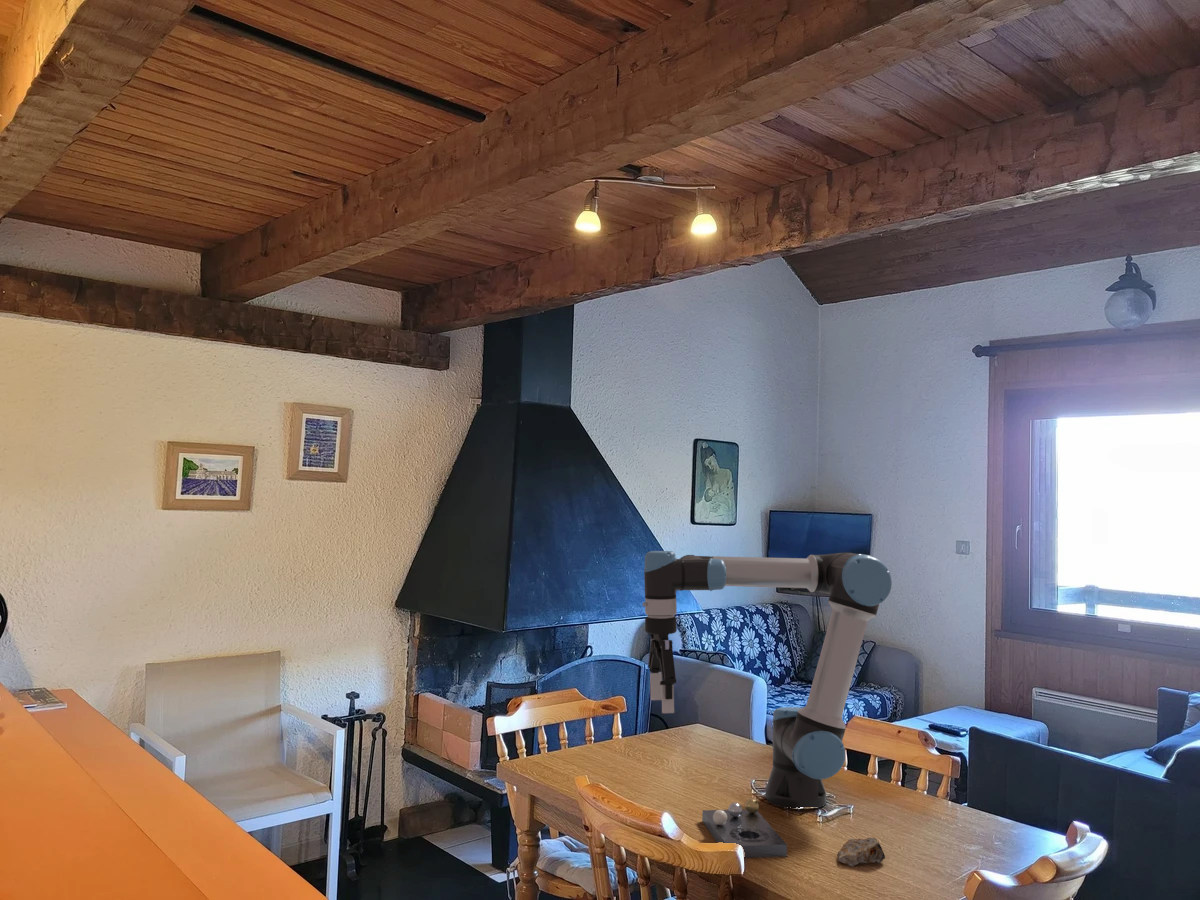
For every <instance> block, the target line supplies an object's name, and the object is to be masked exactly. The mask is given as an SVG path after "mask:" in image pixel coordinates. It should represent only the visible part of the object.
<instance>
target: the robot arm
mask: <svg viewBox="0 0 1200 900" xmlns="http://www.w3.org/2000/svg"><path fill="white" fill-rule="evenodd" d="M643 572H644V575H643V576H644V577H643V578H644V579H643V580H644V600H645V601H644V602H642V607H644V612H645V615H647V616H646V617H645V618H644V632H646V633H647V634H649V636H650V637H649V638H650V641H649V642H650V644H649V652H648V663H647V667H648V669H649V677H650V678H649V679H650V681H649V683H650V684H649V685H650V686H649V687H650V688H649V689H650V700H651V701H661V714H675V684H676V683H677V678H676V669H675V661H674V651H673V640H672V639H669V636H670V635H673V634H676V633H677V629H678V627H677V626H678V625H677V624H678V622H677V617H676V616H675V615H677V613H678V612H677V607H678V606H677V591H710V592H712V591H718V590H719V591H720V590H724V588H725V587H750V588H755V587H756V588H785V589H786V588H787V589H788V588H789V589H790V588H792V589H807V590H808V591H809V593H822V594H827V595H829V596H828V604H829V606H830V608H831V614H830V618H829V621H828V622H829V623H828V625H827V628H826V633H825V635H824V640H823V644H822V648H821V651H820V655H819V658H818V661H817V664H816V670H815V673H814V677H813V679H812V683H811V688H810V689H809V690H810V691H809V695H808V699H807V701H806V704H805V706H804V707H803V706H802V707H798V706H797V707H796V706H795V707H793V706H792V707H791V706H790V707H789V706H788V707H787V706H786V707H784V706H783V707H778V708H776V709H774V711H773V714H772V715H773V717H772V722H771V723H772V768H771V770H770V774H769V776H768V780H767V784H766V786H765V790H764V791H765V795H766V798H765V800H766V799H767V800H766V801H767V802H769V803H770V804H772V805H774V806H777V807H780V808H784V807H788V808H787V809H789V808H790V807H791V808H796V807H798V808H800V807H820V806H823V805H825V804H827V792H826V789H825V785H824V782H823V780H826V779H829V778H831V777H833V776H835V775H836V774H838V773H839V772H840V770H842V767H843V766H844V765H845V761H846V748H845V745H844V743H843V740H844V736H845V733H846V728H847V725H846V724H845V722H844V721H843V714H844V710H845V706H846V703H847V699H848V695H849V693H850V692H849V691H850V687H851V684H852V681H853V676H854V673H855V669H856V666H857V661H858V658H859V654H860V651H861V647H862V644H863V639H864V637H865V636H864V635H865V633H866V629H867V625H868V622H869V620H872V619H874V618H875V617H877V613H878V610H879V606H880V604H881V603H883V602H884V601H885V600H886V599H887V598H888V596H889V595H890V592H891V590H892V584H893V583H892V576H891V573H890V571H889V569H888V567H887V566H886V564H884V563H883V561H881V560H880V559H878V558H877V557H874V556H871V555H870V554H864V553H853V552H838V553H836V552H835V553H827V554H809V555H808V556H807V557H806V558H802V557H800V558H798V557H793V558H792V557H763V556H762V557H758V556H756V557H755V556H753V557H752V556H718V555H717V556H714V555H713V556H712V555H711V556H709V555H694V554H686V555H683V556H681V557H680V558H677V556H676V552H675V551H672V550H651V551H648V552H647V553H645V556H644V570H643ZM825 806H826V805H825ZM823 807H824V806H823Z"/></svg>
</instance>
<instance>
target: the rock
mask: <svg viewBox="0 0 1200 900" xmlns="http://www.w3.org/2000/svg"><path fill="white" fill-rule="evenodd" d="M836 858H838V859H837V861H838V862H841V863H842V864H845V865H848V866H850V867H852V868H854V867H855V866H856V865H858V864H864V863H865V864H869V863H872V864H875V863H877V864H880V863H882V862H883V861H884V860H885V858H886V855H885V852H884V850H883V848H882V846H881V843H880V842H879V841H878V840H877V838H875V837H867V838H856V839H855V838H849V839H848V840H847V841H846V842H845V843H844V844H842V847H841V848H840V850H839V851H838V852H837V854H836Z"/></svg>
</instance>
